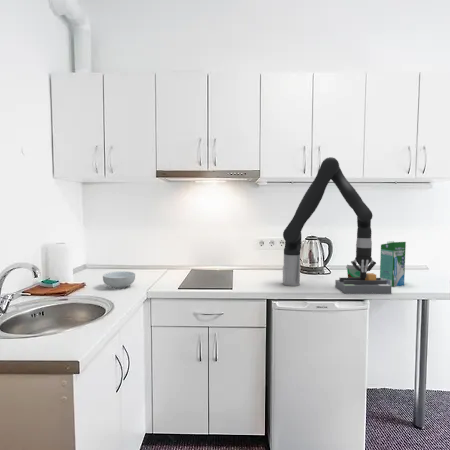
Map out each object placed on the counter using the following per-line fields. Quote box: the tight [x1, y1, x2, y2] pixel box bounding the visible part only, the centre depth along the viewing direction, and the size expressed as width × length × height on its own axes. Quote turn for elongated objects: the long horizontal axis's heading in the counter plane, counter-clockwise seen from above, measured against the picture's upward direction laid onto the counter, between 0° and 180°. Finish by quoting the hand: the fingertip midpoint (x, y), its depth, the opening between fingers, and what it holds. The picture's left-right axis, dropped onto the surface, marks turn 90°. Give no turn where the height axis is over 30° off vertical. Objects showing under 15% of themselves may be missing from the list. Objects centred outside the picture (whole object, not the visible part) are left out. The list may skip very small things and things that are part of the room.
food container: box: [345, 264, 360, 278], centre depth 195 cm, size 12×6×10 cm, turn 105°
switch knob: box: [365, 272, 377, 280], centre depth 175 cm, size 4×4×4 cm
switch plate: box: [334, 277, 392, 295], centre depth 175 cm, size 24×14×6 cm, turn 90°
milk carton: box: [379, 240, 407, 287], centre depth 189 cm, size 9×9×25 cm
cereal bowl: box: [102, 270, 136, 290], centre depth 181 cm, size 17×17×7 cm
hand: (363, 278), depth 175 cm, fingers closed
